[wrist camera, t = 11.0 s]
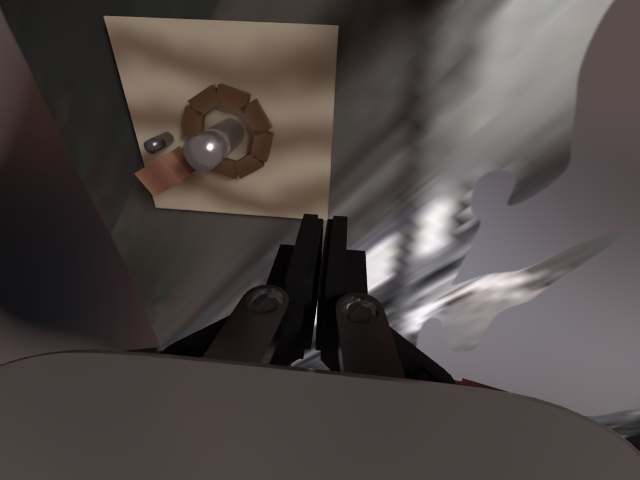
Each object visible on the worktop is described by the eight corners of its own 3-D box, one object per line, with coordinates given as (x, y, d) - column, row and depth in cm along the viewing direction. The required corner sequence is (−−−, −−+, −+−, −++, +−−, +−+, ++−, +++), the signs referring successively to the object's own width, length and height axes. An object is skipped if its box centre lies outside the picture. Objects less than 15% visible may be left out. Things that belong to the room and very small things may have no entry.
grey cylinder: (156, 113, 34) (107, 131, 27) (243, 118, 33) (215, 138, 27) (163, 143, 36) (119, 168, 29) (245, 149, 35) (220, 175, 28)
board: (111, 16, 30) (103, 15, 29) (338, 25, 29) (338, 25, 28) (160, 203, 41) (155, 207, 40) (327, 216, 40) (327, 220, 39)
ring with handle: (239, 67, 30) (224, 71, 27) (288, 152, 34) (280, 164, 31) (135, 137, 35) (112, 147, 32) (188, 204, 39) (173, 219, 36)
